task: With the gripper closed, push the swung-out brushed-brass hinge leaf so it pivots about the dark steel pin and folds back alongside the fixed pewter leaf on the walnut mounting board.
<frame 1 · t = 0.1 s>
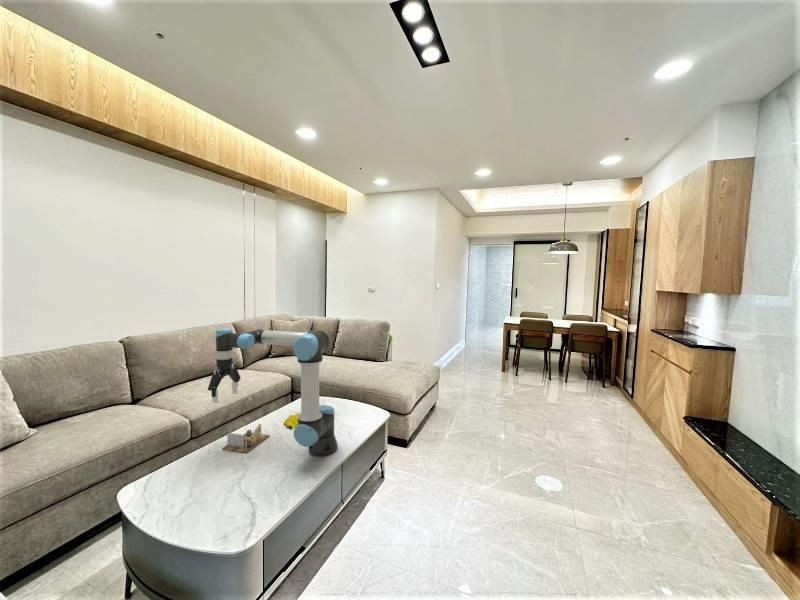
hand: (225, 398, 171), 28 cm above the table, fingers open, 13 cm apart
door knocker: (298, 423, 207), on the table
walnut board: (246, 443, 180), on the table
fixed leaf: (249, 448, 175), resting on walnut board
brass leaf: (253, 435, 179), point 5 cm above the table, hinge at -70.0°
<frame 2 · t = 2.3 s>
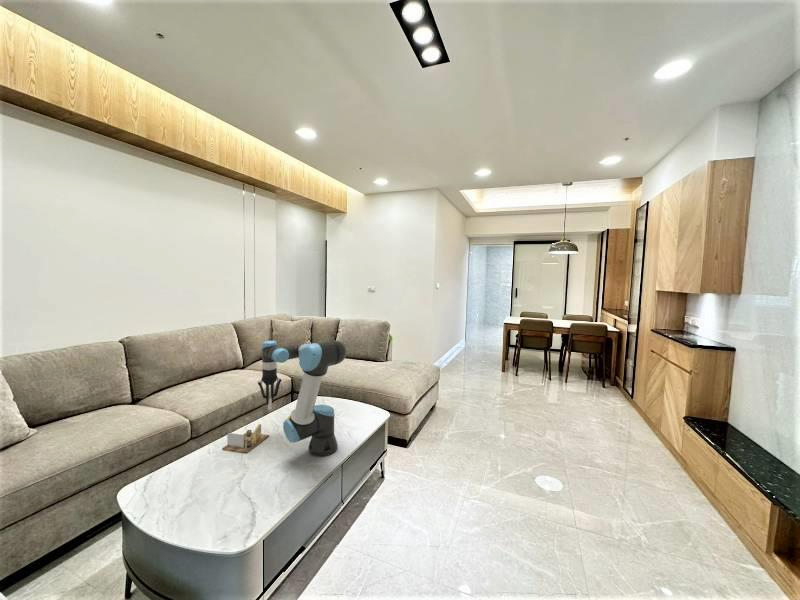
hand: (269, 409, 186), 17 cm above the table, fingers closed
nothing on the table moved.
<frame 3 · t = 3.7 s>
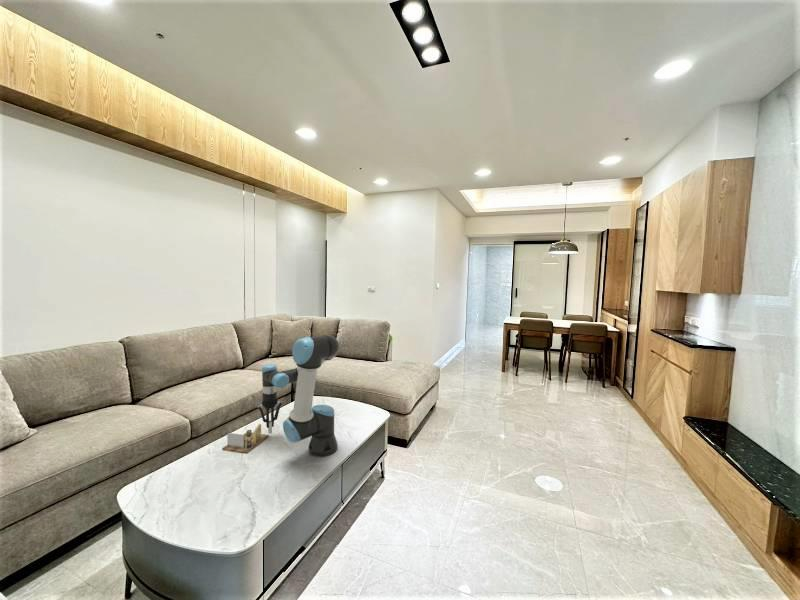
hand: (270, 432, 187), 3 cm above the table, fingers closed
nothing on the table moved.
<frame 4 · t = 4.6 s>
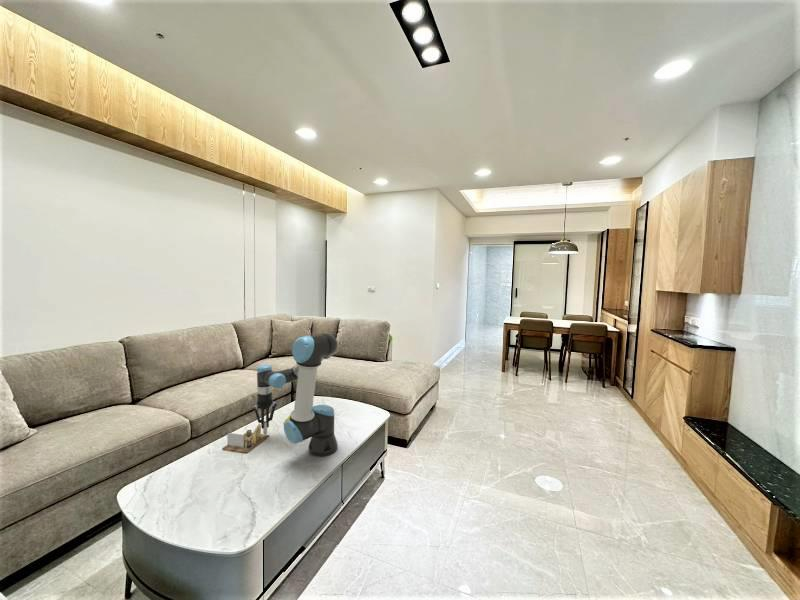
hand: (265, 433, 186), 3 cm above the table, fingers closed
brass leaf: (253, 435, 179), point 5 cm above the table, hinge at -68.9°, touching gripper
everything else where it was.
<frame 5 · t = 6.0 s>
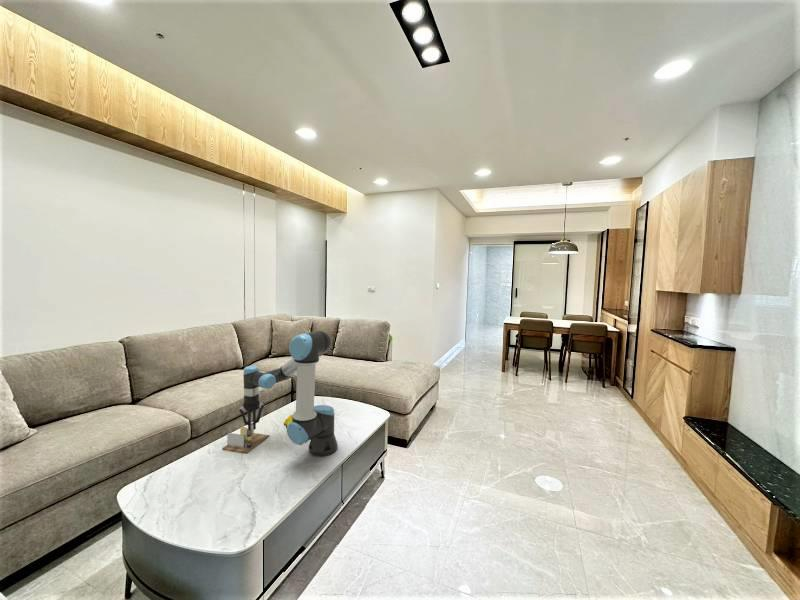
hand: (251, 435, 182), 3 cm above the table, fingers closed
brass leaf: (245, 436, 178), point 5 cm above the table, hinge at -19.4°, touching gripper
everything else where it was.
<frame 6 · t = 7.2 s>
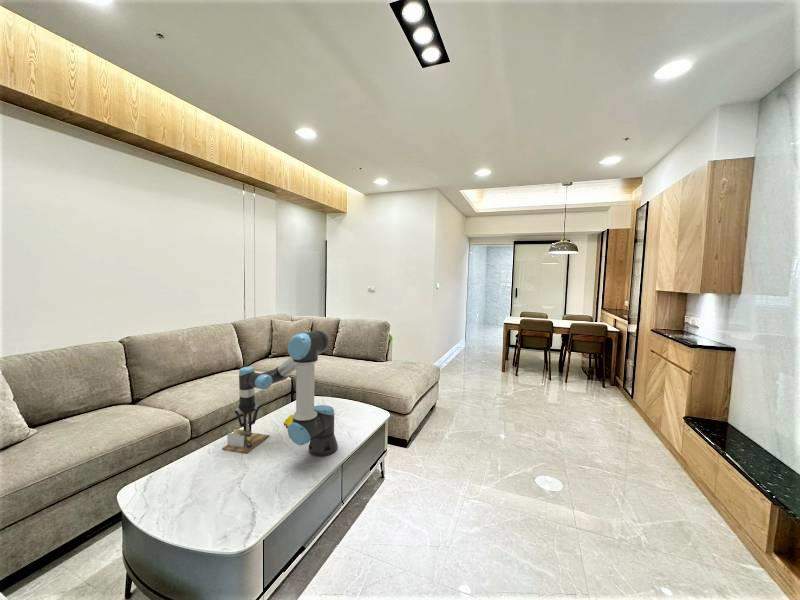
hand: (247, 437, 181), 3 cm above the table, fingers closed
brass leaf: (242, 437, 176), point 5 cm above the table, hinge at 1.5°, touching gripper
everything else where it was.
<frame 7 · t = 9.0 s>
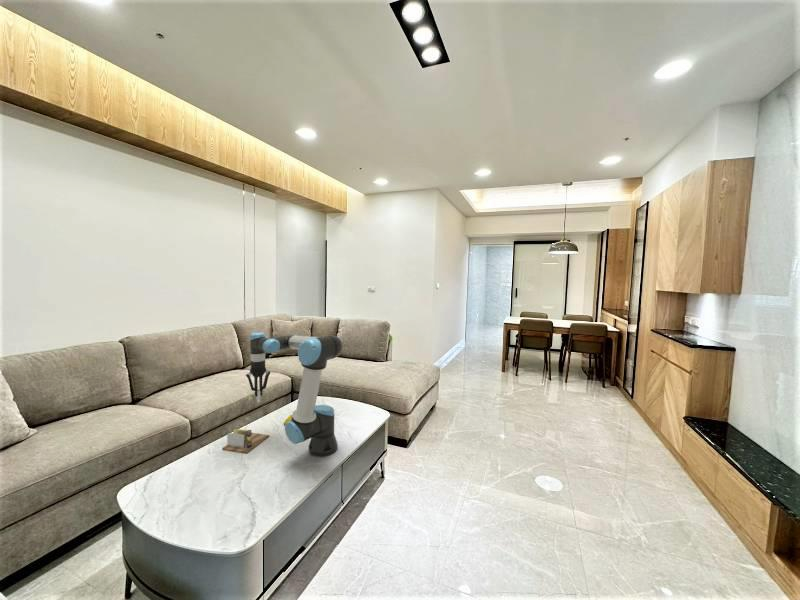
hand: (258, 401, 184), 21 cm above the table, fingers closed
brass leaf: (242, 437, 176), point 5 cm above the table, hinge at 1.6°
everything else where it was.
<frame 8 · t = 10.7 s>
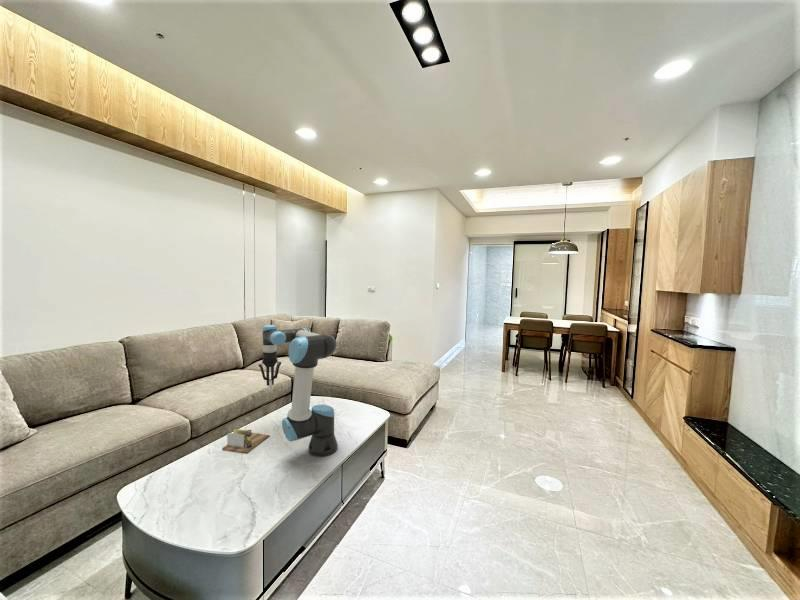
hand: (270, 390, 194), 24 cm above the table, fingers closed
nothing on the table moved.
at the end: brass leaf at +2° (first picture: -70°) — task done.
